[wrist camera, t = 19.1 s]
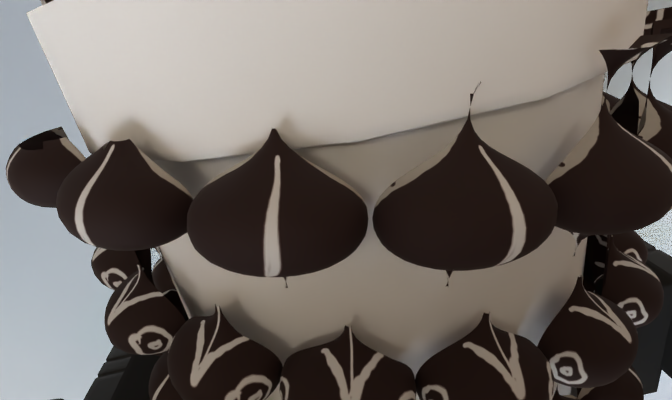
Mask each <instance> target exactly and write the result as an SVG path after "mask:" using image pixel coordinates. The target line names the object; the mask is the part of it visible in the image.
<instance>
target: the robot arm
mask: <svg viewBox="0 0 672 400" xmlns="http://www.w3.org/2000/svg"><path fill="white" fill-rule="evenodd" d="M643 241H644V240H643ZM644 243H645V245H646V247H647V250H648V257H647V261H646V263H645V264H646V265H647V266H648V267H650V268H651V269H652V270H653V272H654V273H655V274H656V275H657V277H658V278H659V279H660V282H661V285H662V288H663V290H664V301H663V306H662V309H661V311H660V313H659V315H658V316H657V317H656V318H655V319H654V320H653V321H652V322H651V323H649V324H648V325H645V326H642V327H639V328H636V330H637V333H638V339H639V343H638V351H637V355H636V358H635V360H634V362H633V364H632V367H633V368H634V369H635V371H636V372H637V374H638V376H639V379H640V381H641V383H642V387H643V392H644V394H649V393H653V392H657V388H658V384H659V379H660V375H661V370H663V371H664V372H665V373H666V374H667V375H669V376H670V377H671V378H672V257H671V256H669V255H667V254H666V253H664V252H662V251H661V250H656V249H655V247H654V246H652V245H651V244H649V243H647V242H645V241H644ZM584 273H585V274H586V275H587V276H588V278H589V279H590V280H591V281H592V283H593V284H594V277H593V273H592V270H591V267H590V265H589V262H588V260H587V257H586V255H585V264H584ZM602 284H603V278H601V279H599V280H598V281H597V282H596V284H595V288H596V290H597V292H598V295H600V296H601V294H602ZM181 302H182V301H181ZM182 309H183V317H184V319H185V321H188V320H189V318H188V315H187V313H186V311H185V308H184V306H183V304H182ZM160 357H161V356H158V355H153V354H152V355H135V354H128V353H126V352H124V351H122V350H120V349H118V348H116V347H115V346H113V348H112V350H111V352H110V353H109V355H108V357H107V359H106V360H107V362H106V363H104V364H103V366H102V368H101V370H100V371H99V373H98V378H96V379H95V380H94V382H93V384H92V386H91V387H90V389H89V391H88V393H87V395H86V396H85V398H84V400H150V397H149V380H150V376H151V372H152V370H153V367H154V365H155V364H156V362H157V361H158V359H159V358H160ZM52 400H64V399H52Z"/></svg>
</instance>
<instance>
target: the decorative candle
mask: <svg viewBox="0 0 672 400" xmlns="http://www.w3.org/2000/svg"><path fill="white" fill-rule="evenodd" d="M40 1H41V3H42V6H40V7H38V8H36V9H34V10H32V11H29V12H27V13H26V14H27V16H28V18H29V21H30V23H31V25H32V27H33V29H34V32H35V34H36V36H37V38H38V40H39V42H40V45H41V47H42V49H43V51H44V53H45V56H46V58H47V60H48V62H49V64H50V67H51V69H52V71H53V73H54V75H55V78H56V80H57V82H58V84H59V86H60V88H61V91H62V93H63V95H64V97H65V99H66V102H67V104H68V106H69V108H70V110H71V113H72V115H73V117H74V119H75V121H76V123H77V126H78V128H79V130H80V132H81V134H82V137H83V139H84V141H85V143H86V145H87V148H88V150H89V152H90V153H92V155H90V156H89V157H88V158H86V159H85V157H84V156H83V155H82V154H81V152H80V151H79V150H78V149H77V148H76V147H75V146H74V145H73V144H72V143H71V142H70V141H69V139H68V137H67V136H66V134H65V132H64V130H63V128H62V127H59V128H55V129H52V130H49V131H46V132H43V133H40V134H38V135H35V136H33V137H31V138H29V139H27V140H25V141H24V142H22V143H21V144H19V145H18V146H17V147H16V148H15V149H14V151H13V152H12V154H11V155H10V157H9V160H8V163H7V166H6V177H7V180H8V183H9V185H10V187H11V189H12V190H13V191H14V192H15V193H16V195H18V196H19V197H20V198H21V199H23V200H25V201H26V202H28V203H31V204H34V205H37V206H41V207H52V208H57V211H58V215H59V218H60V220H61V221H62V223H63V224H64V225H65V227H66V228H67V230H68V231H69V232H70V233H71V234H72V235H74V236H75V237H77V238H78V239H80V240H81V241H83V242H84V243H87V244H90V245H93V246H96V247H97V248H96V249H95V251H94V254H93V257H92V260H91V266H92V269H93V271H94V274H95V276H96V277H97V278H98V279H99V281H100V282H101V283H102V284H103V285H105V286H107V287H108V288H110V289H113V290H115V291H114V293H113V294H112V296H111V297H110V300H109V302H108V304H107V307H106V311H105V329H106V332H107V335H108V337H109V339H110V341H111V343H112V344H113V345H114V346H115V347H116V348H118V349H120V350H122V351H124V352H126V353H128V354H135V355H152V354H153V355H158V356H161V357H160V358H159V359H158V361H157V362H156V364H155V365H154V367H153V370H152V372H151V376H150V380H149V397H150V400H644V392H643V387H642V383H641V381H640V379H639V376H638V374H637V372H636V371H635V369H634V368H633V367H632V364H633V362H634V360H635V358H636V355H637V351H638V343H639V339H638V333H637V330H636V328H639V327H642V326H645V325H648V324H649V323H651V322H652V321H653V320H654V319H655V318H656V317H657V316H658V315H659V313H660V311H661V309H662V306H663V301H664V290H663V288H662V285H661V282H660V279H659V278H658V277H657V275H656V274H655V273H654V272H653V270H652V269H651V268H650V267H648V266H647V265H646V264H645V263H646V261H647V257H648V250H647V247H646V245H645V243H644V241H643V239H642V238H641V237H640V236H639V235H638V234H637V233H636V232H635V231H634V230H638V229H641V228H644V227H646V226H648V225H650V224H652V223H654V222H656V221H658V220H660V219H661V218H662V217H663V216H664V215H665V214H666V213H668V212H669V211H670V210H671V209H672V106H670V105H668V104H666V103H663V102H661V101H659V100H656V99H655V97H654V96H653V94H652V92H651V89H650V82H649V88H648V94H647V95H646V94H645V93H643V92H642V91H640V90H639V89H638V88H637V87H636V85H635V83H634V81H633V77H632V78H631V83H630V86H629V88H628V91H627V92H626V94H625V95H624V96H623V97H622V99H621V100H620V99H618V98H616V97H614V96H612V95H609V94H607V93H605V92H603V83H604V74H605V72H607V71H608V83H607V88H608V85H609V83H610V80H611V78H612V77H613V76H614V74H615V73H616V71H617V70H618V69H619V68H620V67H621V66H622V65H624V64H626V63H629V62H631V63H632V72H633V67H634V65H635V63H636V61H637V60H638V59H639V58H640V57H641V56H642V55H643V54H644V53H645V52H647V51H648V50H650V49H651V48H653V58H652V68H651V74H652V71H653V69H654V67H655V66H656V64H657V63H658V61H659V60H660V59H662V58H663V57H664V56H665V55H666V54H667V53H669V52H670V51H672V7H669V8H664V9H658V10H653V11H648V12H647V5H648V0H40ZM650 77H651V75H650ZM606 92H607V91H606ZM150 248H155V249H156V251H157V252H158V253H159V254H160V252H161V254H162V257H161V255H160V259H159V260H158V261H157V263H156V264H155V265H154V268H153V271H152V270H151V252H150ZM159 249H160V251H159ZM585 255H586V257H587V260H588V262H589V265H590V267H591V270H592V273H593V277H594V284H593V283H592V281H591V280H590V279H589V278H588V276H587V275H586V274H585V273H584V264H585ZM601 278H603V284H602V294H601V296H600V295H598V292H597V290H596V288H595V284H596V282H597V281H598V280H599V279H601ZM181 301H182V302H181ZM182 304H183V306H184V308H185V311H186V313H187V315H188V318H189V320H188V321H185V319H184V317H183V309H182Z"/></svg>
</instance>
